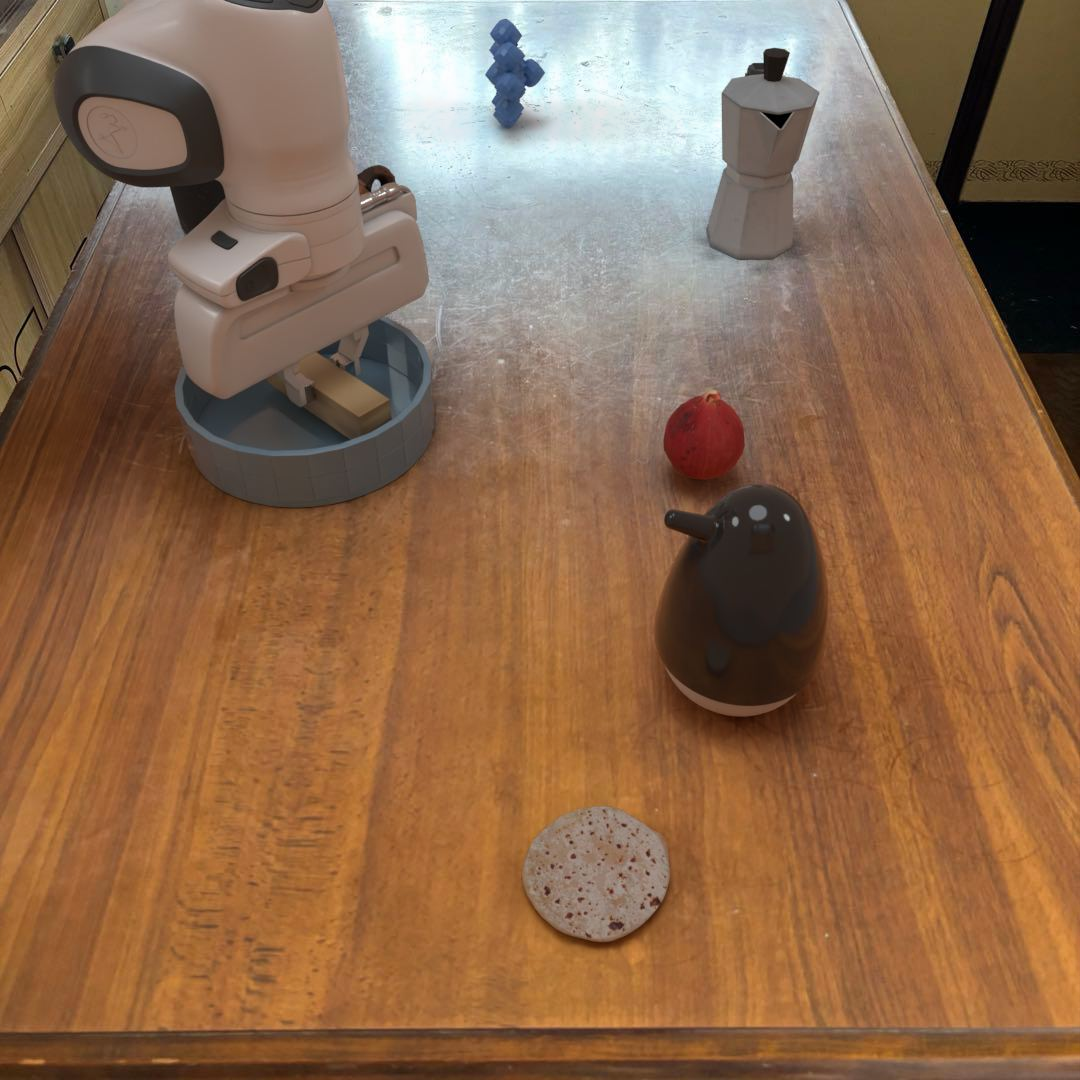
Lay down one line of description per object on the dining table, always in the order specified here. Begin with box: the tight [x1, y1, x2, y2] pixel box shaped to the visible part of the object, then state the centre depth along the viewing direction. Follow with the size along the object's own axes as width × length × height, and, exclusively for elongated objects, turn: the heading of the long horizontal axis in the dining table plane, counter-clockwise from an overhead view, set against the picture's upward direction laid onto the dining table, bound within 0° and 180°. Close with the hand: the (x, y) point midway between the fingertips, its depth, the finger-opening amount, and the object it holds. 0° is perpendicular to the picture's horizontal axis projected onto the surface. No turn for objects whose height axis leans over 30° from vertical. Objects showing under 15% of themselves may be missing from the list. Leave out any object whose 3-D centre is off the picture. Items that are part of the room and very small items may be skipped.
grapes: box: [484, 18, 546, 128], centre depth 123 cm, size 12×7×12 cm, turn 5°
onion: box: [662, 388, 746, 481], centre depth 80 cm, size 6×6×8 cm
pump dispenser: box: [653, 483, 830, 717], centre depth 64 cm, size 10×10×15 cm
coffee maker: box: [705, 47, 820, 260], centre depth 103 cm, size 15×9×18 cm, turn 0°
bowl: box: [174, 316, 436, 509], centre depth 86 cm, size 19×19×5 cm
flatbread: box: [521, 805, 671, 943], centre depth 59 cm, size 8×8×1 cm
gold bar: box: [267, 352, 392, 440], centre depth 85 cm, size 12×3×3 cm, turn 46°
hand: (325, 388), depth 85 cm, fingers closed on gold bar, 3 cm apart
